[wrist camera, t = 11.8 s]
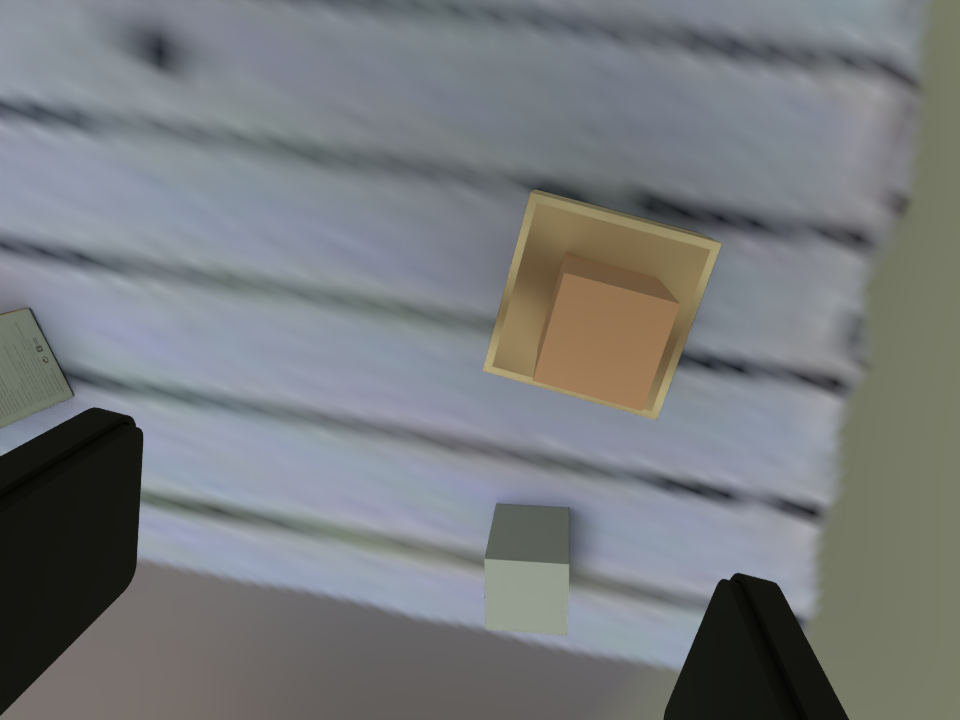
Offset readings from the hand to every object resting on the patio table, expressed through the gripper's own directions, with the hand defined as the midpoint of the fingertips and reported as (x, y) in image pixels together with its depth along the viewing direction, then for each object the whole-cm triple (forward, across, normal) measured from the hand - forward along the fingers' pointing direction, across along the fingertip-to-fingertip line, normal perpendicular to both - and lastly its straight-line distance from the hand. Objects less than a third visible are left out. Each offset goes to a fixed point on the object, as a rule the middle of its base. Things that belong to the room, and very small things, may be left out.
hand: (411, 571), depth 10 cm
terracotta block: (+22, -4, 0) cm, 22 cm away
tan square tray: (+27, -4, 0) cm, 27 cm away
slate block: (+27, -5, +16) cm, 31 cm away
